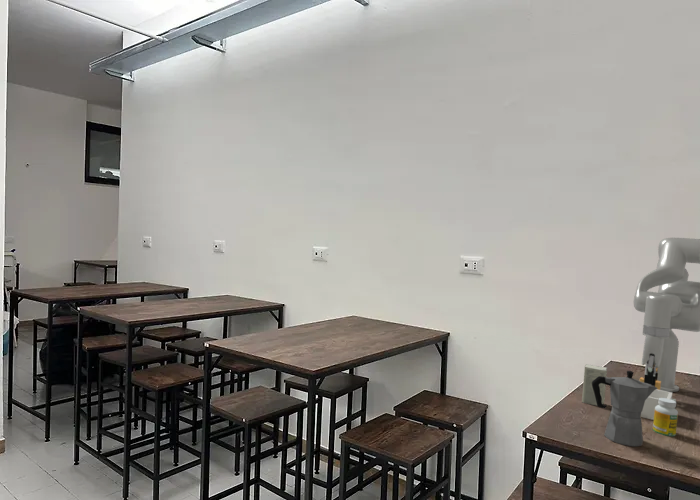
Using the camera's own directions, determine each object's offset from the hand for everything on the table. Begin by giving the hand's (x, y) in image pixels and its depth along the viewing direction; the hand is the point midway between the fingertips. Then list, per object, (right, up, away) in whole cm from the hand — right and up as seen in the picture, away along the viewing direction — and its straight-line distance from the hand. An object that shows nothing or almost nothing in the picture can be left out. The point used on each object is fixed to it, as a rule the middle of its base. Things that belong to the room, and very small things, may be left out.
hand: (650, 384), depth 167 cm
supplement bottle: (-16, -5, -32) cm, 36 cm away
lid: (-3, -4, -3) cm, 6 cm away
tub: (-12, -4, -16) cm, 21 cm away
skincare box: (-25, -3, -12) cm, 28 cm away
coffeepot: (-31, -4, -37) cm, 48 cm away
